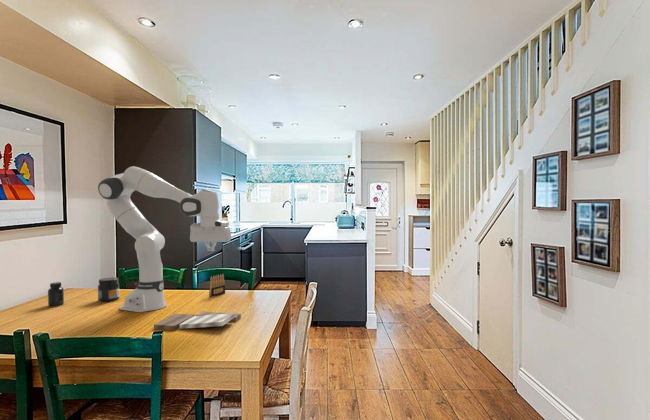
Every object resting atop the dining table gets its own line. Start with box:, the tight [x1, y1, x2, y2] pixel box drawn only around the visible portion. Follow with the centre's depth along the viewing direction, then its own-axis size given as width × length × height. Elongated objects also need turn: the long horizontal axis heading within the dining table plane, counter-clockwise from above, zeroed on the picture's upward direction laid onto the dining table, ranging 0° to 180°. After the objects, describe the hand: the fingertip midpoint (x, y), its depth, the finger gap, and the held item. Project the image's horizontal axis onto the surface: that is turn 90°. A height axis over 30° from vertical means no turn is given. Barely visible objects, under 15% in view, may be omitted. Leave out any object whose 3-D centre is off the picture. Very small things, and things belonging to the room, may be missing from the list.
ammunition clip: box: [208, 273, 226, 298], centre depth 217 cm, size 11×2×12 cm, turn 149°
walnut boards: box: [153, 311, 242, 331], centre depth 165 cm, size 31×21×2 cm
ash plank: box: [179, 312, 235, 330], centre depth 162 cm, size 20×12×2 cm, turn 80°
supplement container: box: [97, 276, 120, 303], centre depth 206 cm, size 10×10×12 cm
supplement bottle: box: [47, 281, 65, 307], centre depth 195 cm, size 7×7×12 cm
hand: (210, 251), depth 179 cm, fingers closed
